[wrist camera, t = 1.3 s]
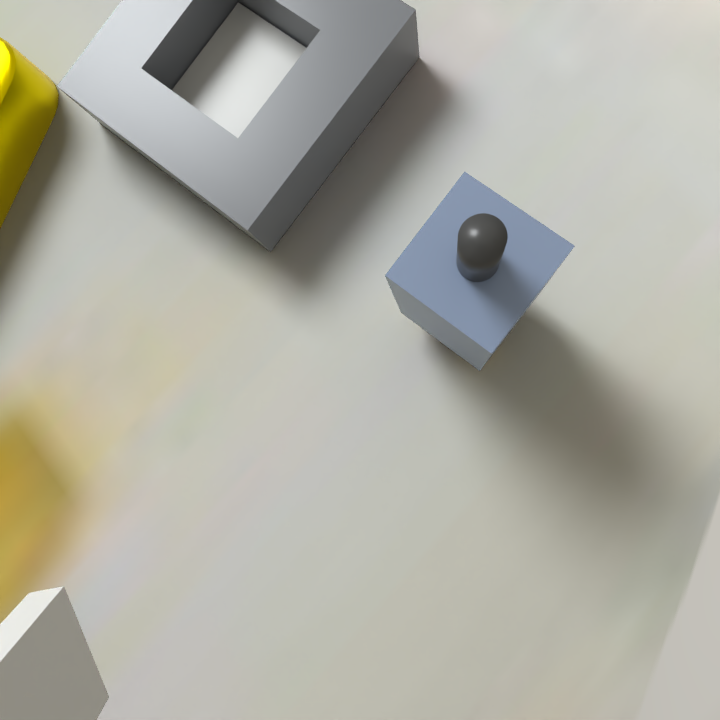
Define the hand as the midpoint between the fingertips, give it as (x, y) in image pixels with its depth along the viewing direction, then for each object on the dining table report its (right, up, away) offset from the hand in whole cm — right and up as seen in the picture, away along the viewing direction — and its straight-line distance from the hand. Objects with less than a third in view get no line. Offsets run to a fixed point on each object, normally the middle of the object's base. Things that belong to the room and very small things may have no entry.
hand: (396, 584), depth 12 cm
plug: (+5, +7, +21) cm, 22 cm away
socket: (-7, +20, +24) cm, 32 cm away
